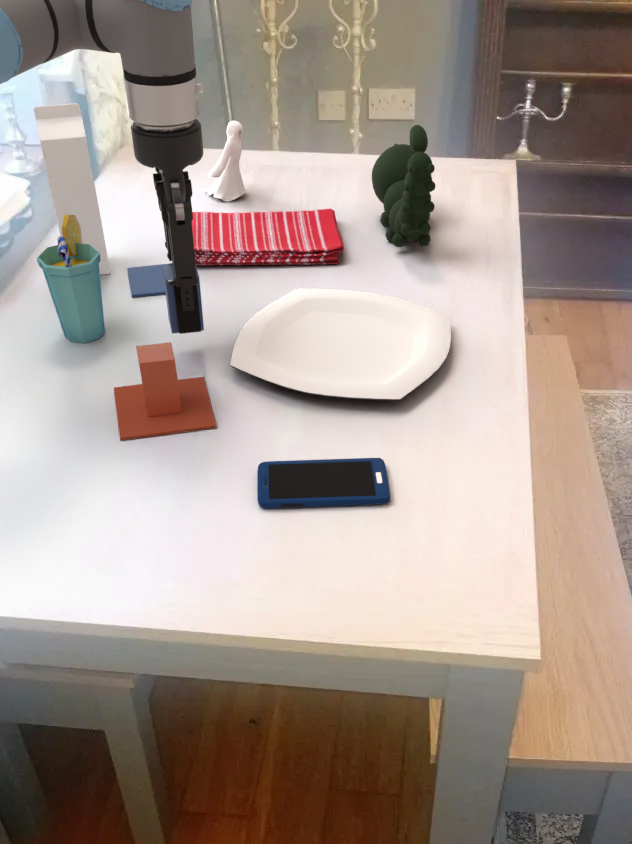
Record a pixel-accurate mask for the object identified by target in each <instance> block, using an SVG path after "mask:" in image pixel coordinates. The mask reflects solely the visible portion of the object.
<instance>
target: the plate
mask: <svg viewBox="0 0 632 844" xmlns="http://www.w3.org/2000/svg"><path fill="white" fill-rule="evenodd" d="M243 325H244V326H243V327H242V328H241V329H240V331H239V334H238V335H237V337H236V340H235V343H234V347H233V350H232V354H231V359H230V363H229V366H230V367H231V368H233V369H236V370H238V371H239V372H242V373H244V374H247V375H250V376H251V377H254V378H257V379H260V380H262V381H265V382H266V383H269V384H270V383H271V384H272V385H276V386H278V387H282V388H285V389H288V390H292V391H295V392H299V393H303V394H307V395H313V396H314V395H315V396H320V397H328V398H337V399H339V398H340V399H350V400H367V401H401V400H402V399H404V398H405V397H406V396H408V395H409V394H411V393H412V392H413V391H415V390H416V389H417V388H418V387H420V386H422V384H424V383H425V382H426V381H427V380H429V379H430V378H431V377H432V376H433V375H434V374H435V373H436V372H437V371H438V370H439V369H440V367H441V366H442V365H443V363H444V362H445V361H446V359H447V357H448V353H449V352H450V348H451V341H452V330H451V319H450V315H449V314H448V313H445V312H443V311H439V310H436V309H434V308H430V307H427V306H424V305H421V304H418V303H415V302H411V301H409V300H404V299H401V298H398V297H394V296H390V295H385V294H381V293H378V292H368V291H360V290H350V289H336V288H334V289H333V288H332V289H331V288H308V287H307V288H304V287H303V288H302V287H298V288H295V289H293V290H291V291H289V292H288V293H286V294H284V295H282V296H281V297H279V298H277V299H275V300H274V301H272V302H271V303H268V304H267V305H266V306H264V307H262V309H260V310H259V311H257V312H256V313H255V314H254V315H252V317H250V318H249V319H248V320H247V321H246V323H245V324H243Z"/></svg>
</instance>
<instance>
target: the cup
mask: <svg viewBox="0 0 632 844" xmlns="http://www.w3.org/2000/svg"><path fill="white" fill-rule="evenodd" d="M62 234H63V236H60V235H59V236H57V244H56V245H52V246H48V247H46V248H45V249H44V250H43V251H42V252H41V253H40V254H39V255H38V256H37V257H36V261H37V264H38V266H39V268H40V269H41V270H42V272H43V275H44V279H45V281H46V285H47V287H48V290H49V293H50V294H49V295H50V296H51V299H52V302H53V303H52V304H53V306H54V309H55V312H56V315H57V318H58V321H59V323H60V328H61V330H62V333H63V336H64V337H65V338H66V339H67V340H68V341H69V342H71V343H78V344H79V343H80V344H87V343H90V342H93V341H97V340H100V339H101V338H102V336H103V335H104V334H105V332H106V328H105V326H106V325H105V316H104V315H105V314H104V306H103V296H102V295H103V294H102V286H101V275H100V272H99V262H100V253H99V252H98V251H97V250H96V249H94V248H93V247H92V246H91V245H89V244H82V238H81V229H80V225H79V223H78V221H77V218H76V216H75V215H65V216H64V220H63V224H62Z"/></svg>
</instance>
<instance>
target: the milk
mask: <svg viewBox="0 0 632 844" xmlns="http://www.w3.org/2000/svg"><path fill="white" fill-rule="evenodd" d="M33 113H34V117H35V123H36V128H37V131H38V132H37V133H38V138H39V142H40V147H41V152H42V157H43V160H44V161H43V162H44V166H45V171H46V176H47V180H48V185H49V189H50V190H49V191H50V194H51V199H52V203H53V207H54V212H55V217H56V221H57V227H58V231H59V236H63V234H62V224H63V220H64V216H65V215H75V216H76V218H77V221H78V223H79V225H80V229H81V238H82V244H89V245H91V246H92V247H93V248H94V249H96V250H97V251H98V252H99V253H100V262H99V272H100V276H101V275H107V274H111V268H110V267H111V266H110V262H109V256H108V250H107V246H106V240H105V234H104V228H103V222H102V219H101V211H100V207H99V200H98V195H97V190H96V185H95V184H96V183H95V179H94V173H93V168H92V167H93V166H92V163H91V156H90V151H89V146H88V141H87V134H86V131H85V125H84V121H83V115H82V110H81V105H80V104H79V103H77V102H76V103H63V104H52V105H40V106H34V108H33Z"/></svg>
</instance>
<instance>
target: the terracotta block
mask: <svg viewBox="0 0 632 844" xmlns="http://www.w3.org/2000/svg"><path fill="white" fill-rule="evenodd" d="M135 347H136V349H135V350H136V354H137V361H138V367H139V372H140V378H141V384H142V385H143V391H144V397H145V403H146V409H147V415H148V417H152V416H160V415H168V414H176V413H182V407H181V400H180V393H179V385H178V380H179V378H178V371H177V365H176V359H175V358H176V357H175V353H174V349H173V344H172V342H171V341H170V342H169V341H168V342H161V343H152V344H151V343H150V344H144V345H143V344H142V345H136V346H135Z"/></svg>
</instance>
